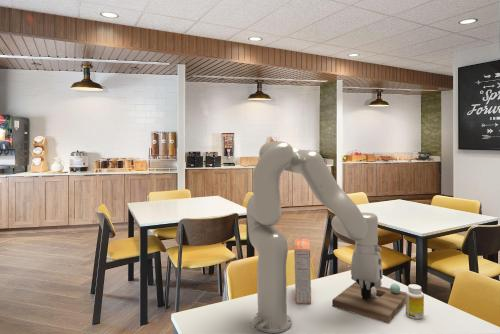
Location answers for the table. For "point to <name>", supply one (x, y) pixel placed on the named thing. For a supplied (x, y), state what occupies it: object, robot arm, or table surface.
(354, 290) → the wooden board
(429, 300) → the table surface
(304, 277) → the cracker box
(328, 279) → the table surface
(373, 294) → the steel ball
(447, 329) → the table surface
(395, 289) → the teal ball
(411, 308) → the supplement bottle
